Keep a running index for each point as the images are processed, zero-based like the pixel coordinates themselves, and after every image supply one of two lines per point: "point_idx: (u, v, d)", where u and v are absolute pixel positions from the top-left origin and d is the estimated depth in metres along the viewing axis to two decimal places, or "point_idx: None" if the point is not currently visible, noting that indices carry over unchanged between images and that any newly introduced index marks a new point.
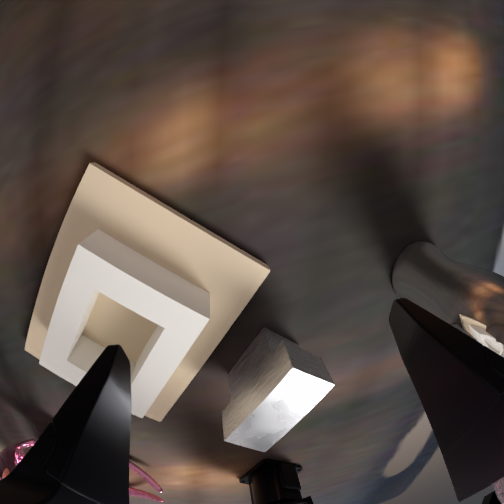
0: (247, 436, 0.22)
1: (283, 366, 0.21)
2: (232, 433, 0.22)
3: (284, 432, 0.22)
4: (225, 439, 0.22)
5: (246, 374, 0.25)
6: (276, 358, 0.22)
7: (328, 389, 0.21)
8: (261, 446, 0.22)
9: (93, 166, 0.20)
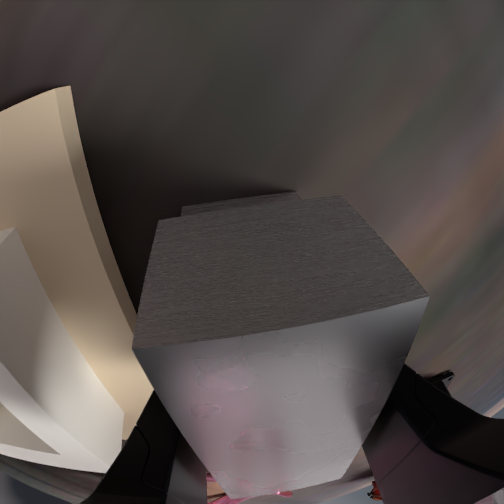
0: (268, 486, 0.08)
1: None
2: (228, 492, 0.08)
3: (350, 454, 0.07)
4: (230, 497, 0.08)
5: None
6: None
7: (411, 326, 0.04)
8: (321, 479, 0.08)
9: None
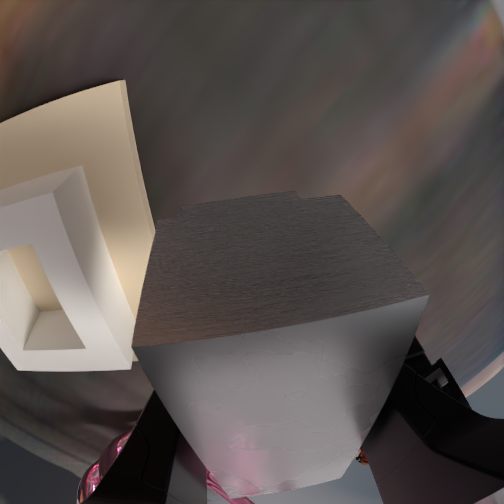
0: (268, 486, 0.08)
1: None
2: (228, 492, 0.08)
3: (350, 453, 0.07)
4: (230, 496, 0.08)
5: None
6: None
7: (410, 325, 0.04)
8: (321, 479, 0.08)
9: None
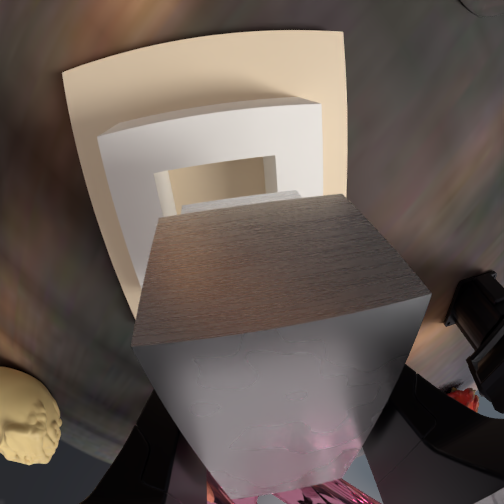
0: (268, 486, 0.08)
1: None
2: (229, 492, 0.08)
3: (351, 453, 0.07)
4: (230, 497, 0.08)
5: None
6: None
7: (413, 324, 0.04)
8: (322, 479, 0.08)
9: (68, 71, 0.13)
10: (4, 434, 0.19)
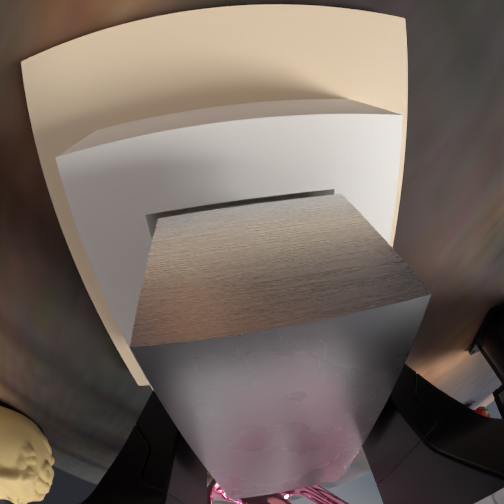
0: (268, 486, 0.08)
1: None
2: (228, 493, 0.08)
3: (351, 454, 0.07)
4: (230, 497, 0.08)
5: None
6: None
7: (412, 325, 0.04)
8: (322, 480, 0.08)
9: (28, 59, 0.08)
10: None
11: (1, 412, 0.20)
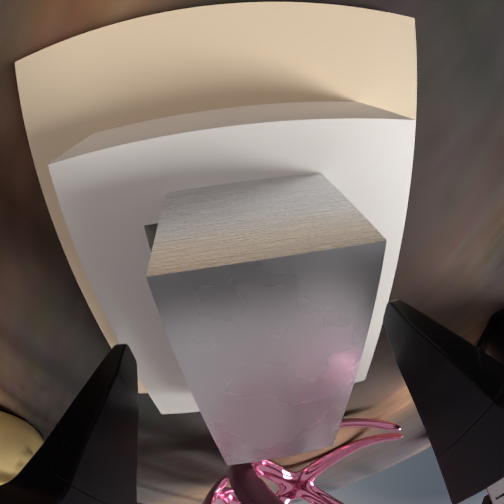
0: (262, 448, 0.09)
1: None
2: (225, 455, 0.09)
3: (338, 413, 0.08)
4: (227, 462, 0.10)
5: None
6: None
7: (374, 268, 0.05)
8: (313, 445, 0.10)
9: (22, 59, 0.08)
10: None
11: (0, 417, 0.19)
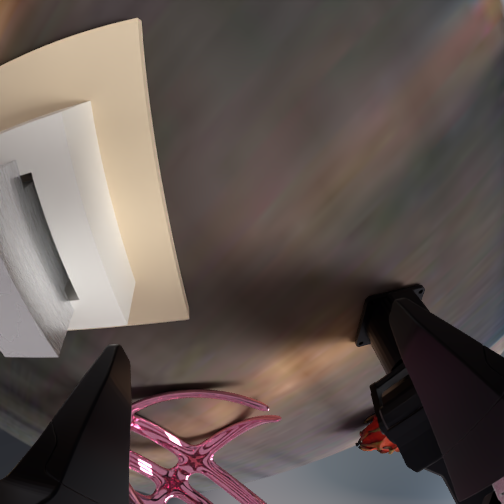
0: (9, 340, 0.12)
1: None
2: None
3: (26, 313, 0.11)
4: (4, 354, 0.12)
5: None
6: None
7: None
8: (41, 349, 0.12)
9: None
10: None
11: None
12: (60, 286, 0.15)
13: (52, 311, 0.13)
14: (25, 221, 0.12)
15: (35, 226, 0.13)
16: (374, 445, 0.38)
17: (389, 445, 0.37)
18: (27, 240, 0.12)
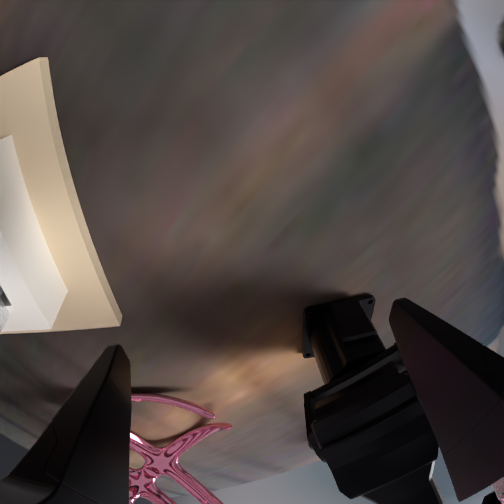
0: None
1: None
2: None
3: None
4: None
5: None
6: None
7: None
8: None
9: None
10: None
11: None
12: None
13: None
14: None
15: None
16: None
17: None
18: None
